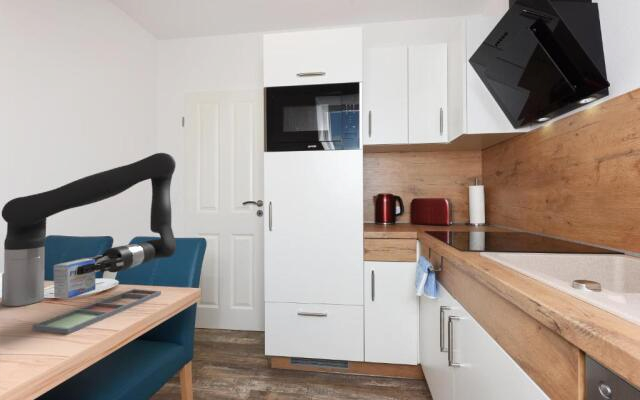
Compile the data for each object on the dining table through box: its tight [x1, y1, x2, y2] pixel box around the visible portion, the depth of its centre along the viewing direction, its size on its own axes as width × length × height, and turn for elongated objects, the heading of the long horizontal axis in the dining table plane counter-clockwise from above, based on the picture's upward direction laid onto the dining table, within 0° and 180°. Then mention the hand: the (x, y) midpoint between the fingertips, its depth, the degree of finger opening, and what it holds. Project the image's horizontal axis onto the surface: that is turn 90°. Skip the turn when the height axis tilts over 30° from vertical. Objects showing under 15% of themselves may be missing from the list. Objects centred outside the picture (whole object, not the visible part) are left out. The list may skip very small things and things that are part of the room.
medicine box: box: [53, 258, 96, 299], centre depth 82 cm, size 8×4×9 cm, turn 169°
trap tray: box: [32, 288, 162, 335], centre depth 92 cm, size 11×32×1 cm, turn 169°
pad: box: [46, 313, 100, 328], centre depth 82 cm, size 10×11×1 cm
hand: (70, 270), depth 81 cm, fingers closed on medicine box, 4 cm apart
